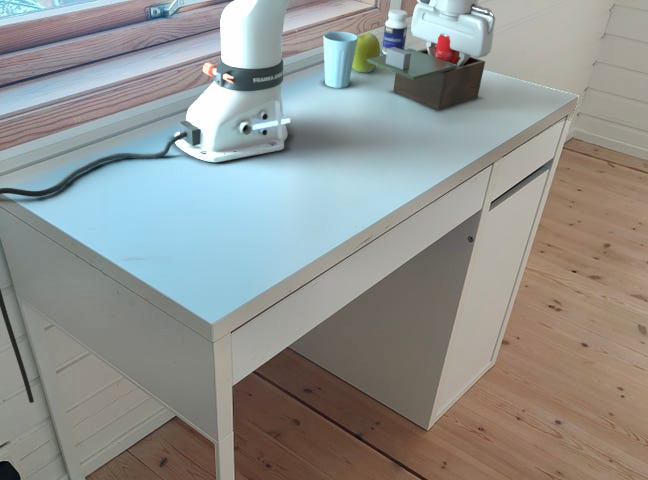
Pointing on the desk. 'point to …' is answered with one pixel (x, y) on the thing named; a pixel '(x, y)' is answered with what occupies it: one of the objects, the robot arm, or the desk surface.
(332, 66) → the cup
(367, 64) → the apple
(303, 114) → the desk surface
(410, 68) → the slide lid
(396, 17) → the pill bottle
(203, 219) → the desk surface
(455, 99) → the wooden box
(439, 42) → the beverage can
